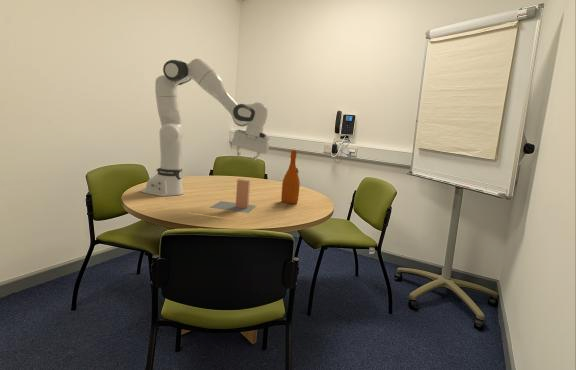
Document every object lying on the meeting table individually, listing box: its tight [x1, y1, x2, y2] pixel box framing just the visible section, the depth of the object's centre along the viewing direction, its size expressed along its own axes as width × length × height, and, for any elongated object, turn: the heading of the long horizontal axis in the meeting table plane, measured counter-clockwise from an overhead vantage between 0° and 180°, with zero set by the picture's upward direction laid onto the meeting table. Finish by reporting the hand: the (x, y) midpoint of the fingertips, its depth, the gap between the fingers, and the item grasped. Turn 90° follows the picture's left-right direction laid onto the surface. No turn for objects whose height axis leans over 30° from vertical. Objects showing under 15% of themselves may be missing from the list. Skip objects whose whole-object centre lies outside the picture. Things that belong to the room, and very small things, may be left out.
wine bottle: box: [280, 149, 301, 205], centre depth 199 cm, size 10×10×30 cm
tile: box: [235, 179, 251, 208], centre depth 179 cm, size 6×2×14 cm, turn 79°
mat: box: [209, 200, 257, 214], centre depth 180 cm, size 20×15×1 cm
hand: (246, 158), depth 189 cm, fingers open, 8 cm apart
